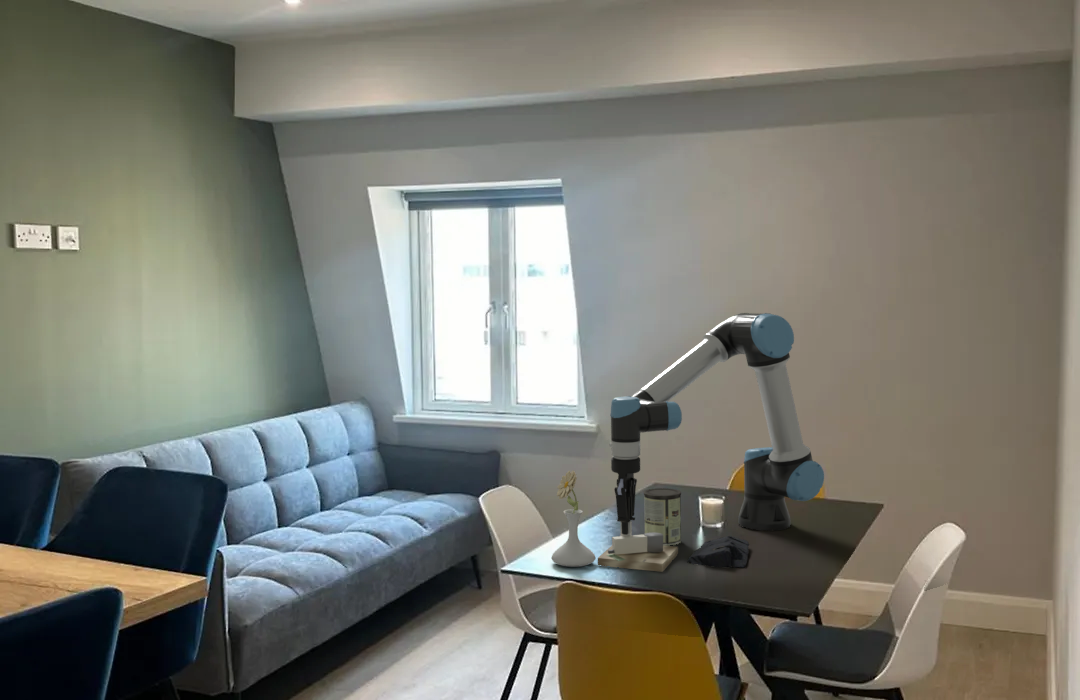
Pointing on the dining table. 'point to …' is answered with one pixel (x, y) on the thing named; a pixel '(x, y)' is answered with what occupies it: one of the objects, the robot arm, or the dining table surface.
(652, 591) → the dining table surface
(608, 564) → the board
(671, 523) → the coffee can
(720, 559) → the dark slate chunk
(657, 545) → the peg
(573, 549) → the flower in vase
